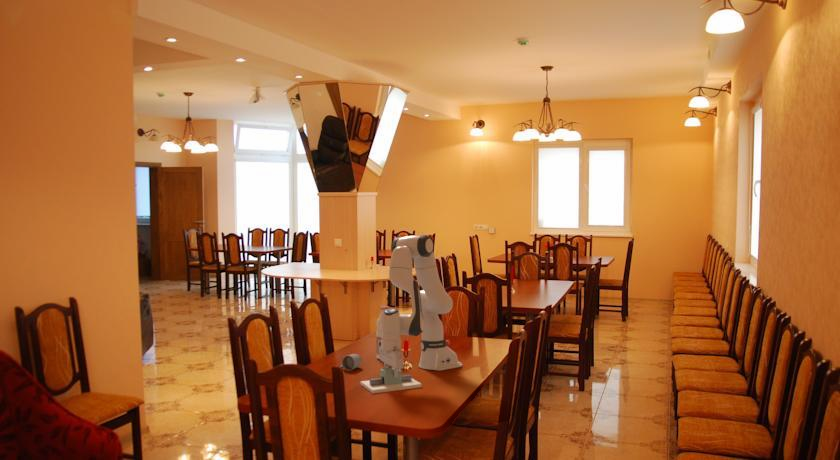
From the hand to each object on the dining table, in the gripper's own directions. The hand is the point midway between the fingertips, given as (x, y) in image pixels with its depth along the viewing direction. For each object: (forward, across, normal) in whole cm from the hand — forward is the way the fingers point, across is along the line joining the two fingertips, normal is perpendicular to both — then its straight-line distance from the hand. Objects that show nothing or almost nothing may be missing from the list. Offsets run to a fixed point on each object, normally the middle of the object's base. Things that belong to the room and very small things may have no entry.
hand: (391, 374), depth 314 cm
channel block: (+4, 0, 0) cm, 4 cm away
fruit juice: (+6, +52, -18) cm, 55 cm away
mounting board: (+5, 0, 0) cm, 5 cm away
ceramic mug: (+6, +38, +7) cm, 39 cm away
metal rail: (+4, 0, 0) cm, 4 cm away
